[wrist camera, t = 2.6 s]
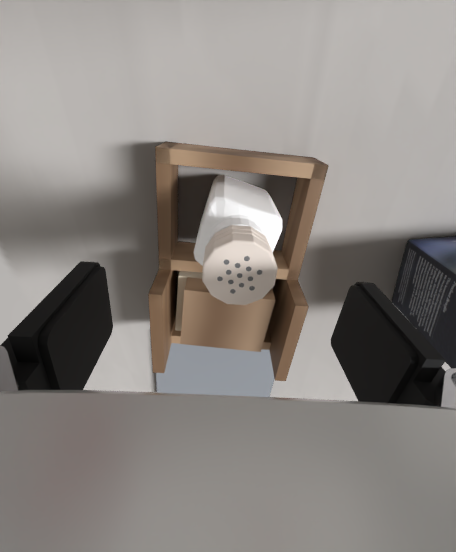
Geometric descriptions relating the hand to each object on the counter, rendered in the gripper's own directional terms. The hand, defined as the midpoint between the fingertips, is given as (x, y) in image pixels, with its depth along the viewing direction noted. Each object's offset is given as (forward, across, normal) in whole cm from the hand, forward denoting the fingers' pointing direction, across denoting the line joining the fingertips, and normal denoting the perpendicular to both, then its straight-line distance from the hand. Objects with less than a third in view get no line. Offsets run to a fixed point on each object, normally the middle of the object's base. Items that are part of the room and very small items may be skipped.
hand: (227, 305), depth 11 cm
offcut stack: (+11, 0, +6) cm, 13 cm away
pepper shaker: (+11, -1, -1) cm, 11 cm away
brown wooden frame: (+11, -1, +2) cm, 11 cm away
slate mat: (+11, -1, +16) cm, 19 cm away
